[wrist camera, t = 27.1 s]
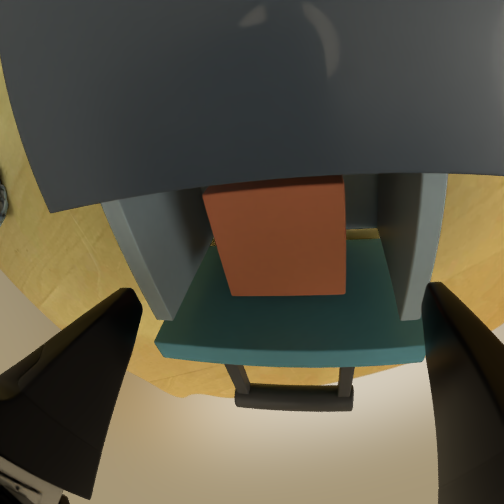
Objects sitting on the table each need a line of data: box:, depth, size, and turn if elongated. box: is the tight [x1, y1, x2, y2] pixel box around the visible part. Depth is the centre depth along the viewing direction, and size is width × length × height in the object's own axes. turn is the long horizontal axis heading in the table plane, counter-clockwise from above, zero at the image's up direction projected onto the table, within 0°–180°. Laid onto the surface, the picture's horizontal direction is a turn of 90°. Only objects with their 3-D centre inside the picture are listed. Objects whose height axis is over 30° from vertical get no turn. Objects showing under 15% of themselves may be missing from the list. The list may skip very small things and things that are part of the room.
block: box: [202, 175, 346, 296], centre depth 12 cm, size 4×4×4 cm
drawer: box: [101, 173, 448, 412], centre depth 12 cm, size 17×11×8 cm
